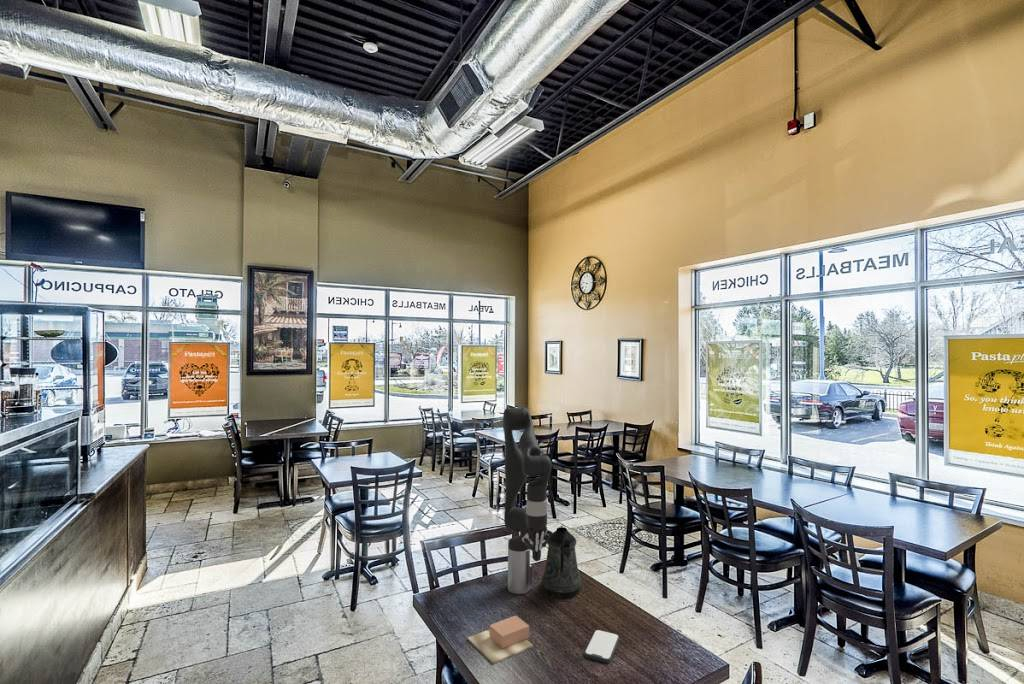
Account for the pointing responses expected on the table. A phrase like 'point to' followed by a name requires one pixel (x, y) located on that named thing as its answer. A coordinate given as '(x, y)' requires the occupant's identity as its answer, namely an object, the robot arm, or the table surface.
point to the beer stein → (561, 566)
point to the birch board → (497, 647)
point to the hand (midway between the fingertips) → (536, 560)
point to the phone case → (602, 646)
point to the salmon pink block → (509, 631)
